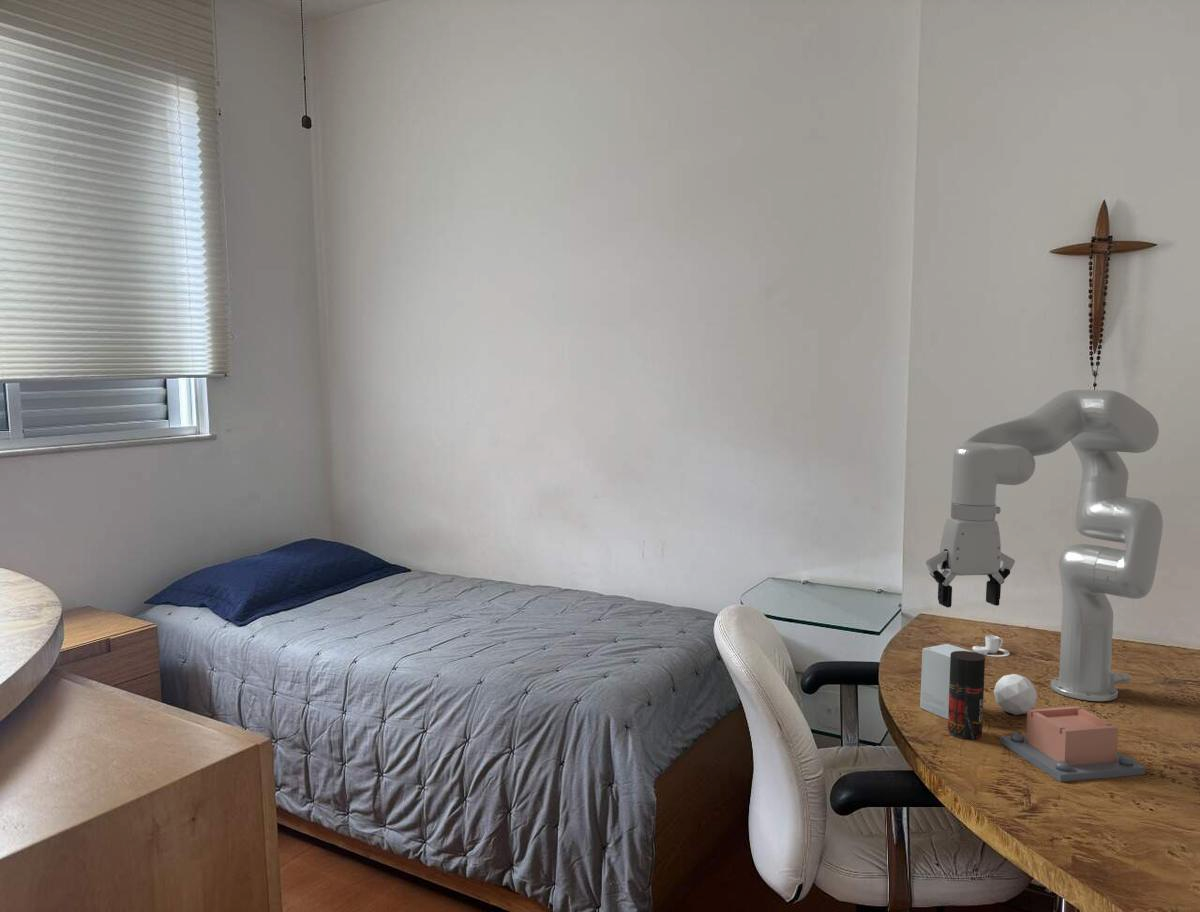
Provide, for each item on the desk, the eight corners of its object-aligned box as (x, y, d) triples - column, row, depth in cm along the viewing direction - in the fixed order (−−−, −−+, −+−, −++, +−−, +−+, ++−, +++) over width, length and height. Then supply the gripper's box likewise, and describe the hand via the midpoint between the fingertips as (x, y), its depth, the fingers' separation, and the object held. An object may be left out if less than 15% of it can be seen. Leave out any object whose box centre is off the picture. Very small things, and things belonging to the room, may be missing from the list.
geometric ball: (1018, 723, 178) (1040, 690, 179) (1025, 722, 171) (1048, 689, 172) (983, 699, 181) (1005, 667, 182) (988, 698, 174) (1011, 664, 175)
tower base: (1078, 736, 165) (1079, 699, 164) (1145, 774, 149) (1147, 733, 148) (1000, 742, 162) (1002, 704, 161) (1060, 781, 146) (1062, 739, 146)
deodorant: (948, 725, 170) (951, 649, 169) (982, 730, 168) (985, 653, 166) (946, 736, 165) (949, 658, 164) (981, 742, 162) (984, 662, 161)
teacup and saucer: (974, 657, 213) (974, 640, 213) (967, 647, 221) (968, 631, 221) (1013, 659, 211) (1013, 642, 211) (1005, 649, 219) (1006, 633, 219)
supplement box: (948, 720, 173) (950, 657, 171) (918, 708, 179) (920, 647, 178) (974, 714, 176) (977, 652, 175) (944, 702, 182) (946, 642, 181)
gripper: (1002, 509, 168) (998, 598, 169) (918, 511, 165) (915, 601, 166) (1028, 515, 160) (1023, 608, 162) (941, 517, 157) (937, 611, 159)
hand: (968, 604), depth 164 cm, fingers open, 9 cm apart
